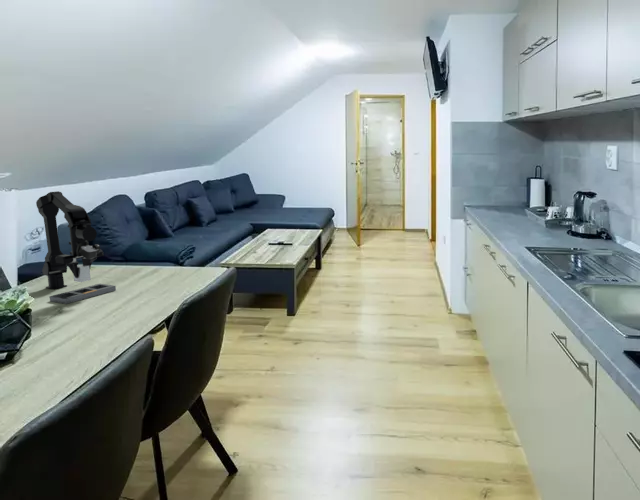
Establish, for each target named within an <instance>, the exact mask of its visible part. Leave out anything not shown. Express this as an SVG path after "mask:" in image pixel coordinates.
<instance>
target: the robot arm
mask: <svg viewBox="0 0 640 500" xmlns="http://www.w3.org/2000/svg"><path fill="white" fill-rule="evenodd" d="M67 198H68V197H67ZM67 198H66V197H65V196H64V195H63V193H62V191H60V190H59V191H57V190H56V191H50V192H48V193H47V194H44V195H43V196H40V197H39V198H38V199H37V200H36V202H35V203H36V205H35V206H36V208H37V211H38V213H39V214H40V216H41V217H42V218H43V223H44V231H45V238H46V246H47V253H46V255H45V257H44V264H43V267H42V269H41V270H42V275H43V276H46V277H47V283H48V286H45V289H49V290H50V289H51V290H58V289H62V288H66V287H68V285H66V284H65V282H64V274H65V273H66V274H67V272H68V268H69V270H70V271H71V272H72V274H74V275H73V277H74V276H75V278H78V268H77V266H78V265H79V263H80V261H77V260H79V259H81V261H82V265H89V268H90V269H91V267H92V264H93V262H95V261H96V260H97V258H99V257H101V258H102V257H104V251H103V250H102V248H101V246H100V245H99V244H93V245H90V242H92V241H94V240H95V239H96V237H97V230H96V229H95V228H94V227H92V222H91V221H92V220H91V218H90V216H89V215H88V212H87V210H86V209H85V208H84V207H82V206H80V205H78V204H74V203H72V202H71V201H70V200H69V199H67ZM59 211H62V213H64V216H63V217H64V219H65V221H66V222H67V223H68V225H67V228H69V237H70V241H68V245H71V251H70V252H69V254H65V253H63V251H61V247H60V239H59V232H58V231H59V229H58V224H57V222H58V221H57V216H58V213H59Z"/></svg>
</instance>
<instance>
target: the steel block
mask: <svg viewBox="0 0 640 500" xmlns="http://www.w3.org/2000/svg"><path fill="white" fill-rule="evenodd" d="M77 268H78V278H75V276H74V274H73V273H72V274H73V281H74V282H76V283H77V282H79V283H83V282H87V281H91V267H90V268H89V265H83V264H78V265H77Z"/></svg>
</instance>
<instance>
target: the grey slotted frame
mask: <svg viewBox="0 0 640 500" xmlns="http://www.w3.org/2000/svg"><path fill="white" fill-rule="evenodd" d="M116 287H117V286H116V285H113V284H112V285H111V284H106V283H105V284H104V283H97V284H94V285H93V284H92V285H89V286H85V287H81V288H78V289H73V290H68V291H65V292H61V293H57V294H54V295H50V296H49V302H53V303H58V304H64V305H68V304H71V303H75V302H79V301H81V300H86V299H90V298H93V297H98V296H100V295H104V294H107V293H111V292H115V291H117V288H116Z"/></svg>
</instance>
